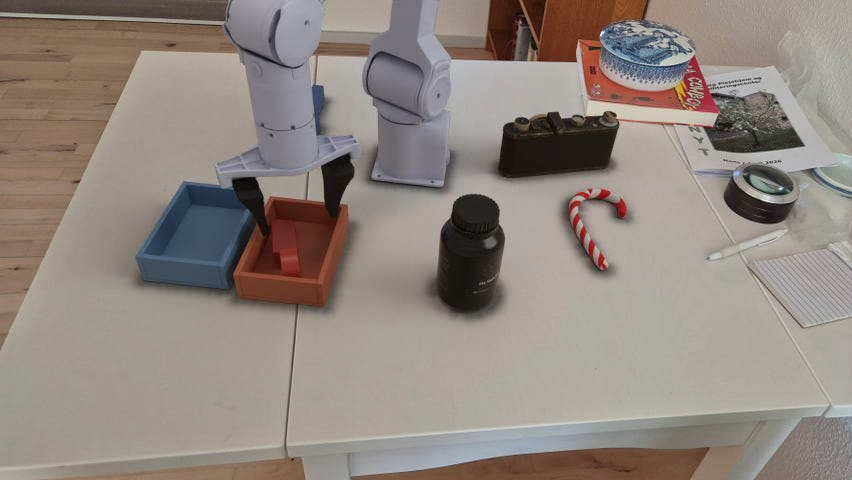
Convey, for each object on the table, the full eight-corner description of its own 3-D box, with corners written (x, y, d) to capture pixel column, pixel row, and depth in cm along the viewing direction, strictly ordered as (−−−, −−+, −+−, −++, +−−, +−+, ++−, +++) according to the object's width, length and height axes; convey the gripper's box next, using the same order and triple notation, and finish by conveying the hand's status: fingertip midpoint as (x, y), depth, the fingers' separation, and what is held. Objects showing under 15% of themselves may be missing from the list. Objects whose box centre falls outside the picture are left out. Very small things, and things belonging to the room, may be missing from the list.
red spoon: (296, 239, 79) (274, 241, 79) (292, 210, 77) (269, 212, 76) (302, 291, 71) (277, 294, 71) (298, 260, 69) (272, 263, 68)
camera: (595, 143, 99) (607, 95, 93) (613, 170, 94) (627, 121, 89) (489, 152, 94) (494, 102, 89) (502, 181, 90) (509, 130, 84)
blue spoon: (306, 99, 100) (304, 83, 98) (332, 102, 100) (331, 86, 98) (288, 136, 93) (286, 120, 91) (316, 139, 93) (315, 123, 91)
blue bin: (265, 212, 81) (261, 189, 79) (229, 289, 72) (223, 266, 69) (189, 203, 81) (183, 180, 79) (143, 280, 72) (134, 256, 69)
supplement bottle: (490, 319, 72) (503, 236, 64) (429, 306, 73) (433, 222, 64) (501, 276, 77) (514, 194, 69) (444, 264, 78) (450, 181, 69)
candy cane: (577, 262, 78) (566, 184, 89) (575, 270, 79) (564, 191, 90) (642, 266, 78) (623, 188, 89) (639, 274, 79) (621, 196, 90)
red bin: (349, 226, 81) (348, 204, 78) (324, 307, 71) (321, 284, 69) (273, 218, 81) (269, 195, 78) (238, 297, 71) (232, 274, 69)
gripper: (341, 82, 70) (347, 185, 80) (197, 107, 64) (222, 215, 74) (366, 116, 66) (369, 221, 75) (214, 147, 60) (239, 255, 70)
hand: (298, 221), depth 74 cm, fingers open, 7 cm apart
